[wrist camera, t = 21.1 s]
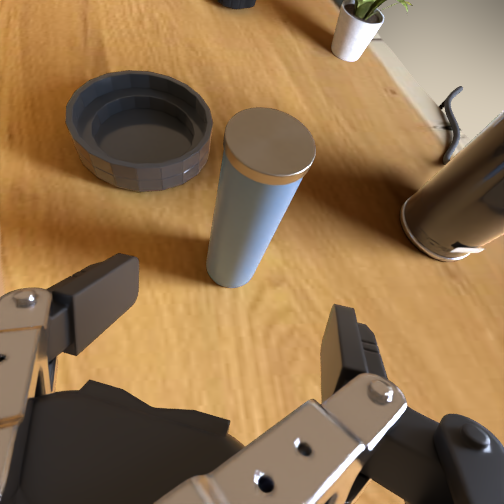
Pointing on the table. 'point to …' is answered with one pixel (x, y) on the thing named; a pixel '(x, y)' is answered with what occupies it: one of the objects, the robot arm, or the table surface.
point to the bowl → (140, 129)
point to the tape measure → (237, 3)
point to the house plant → (357, 27)
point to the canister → (255, 189)
